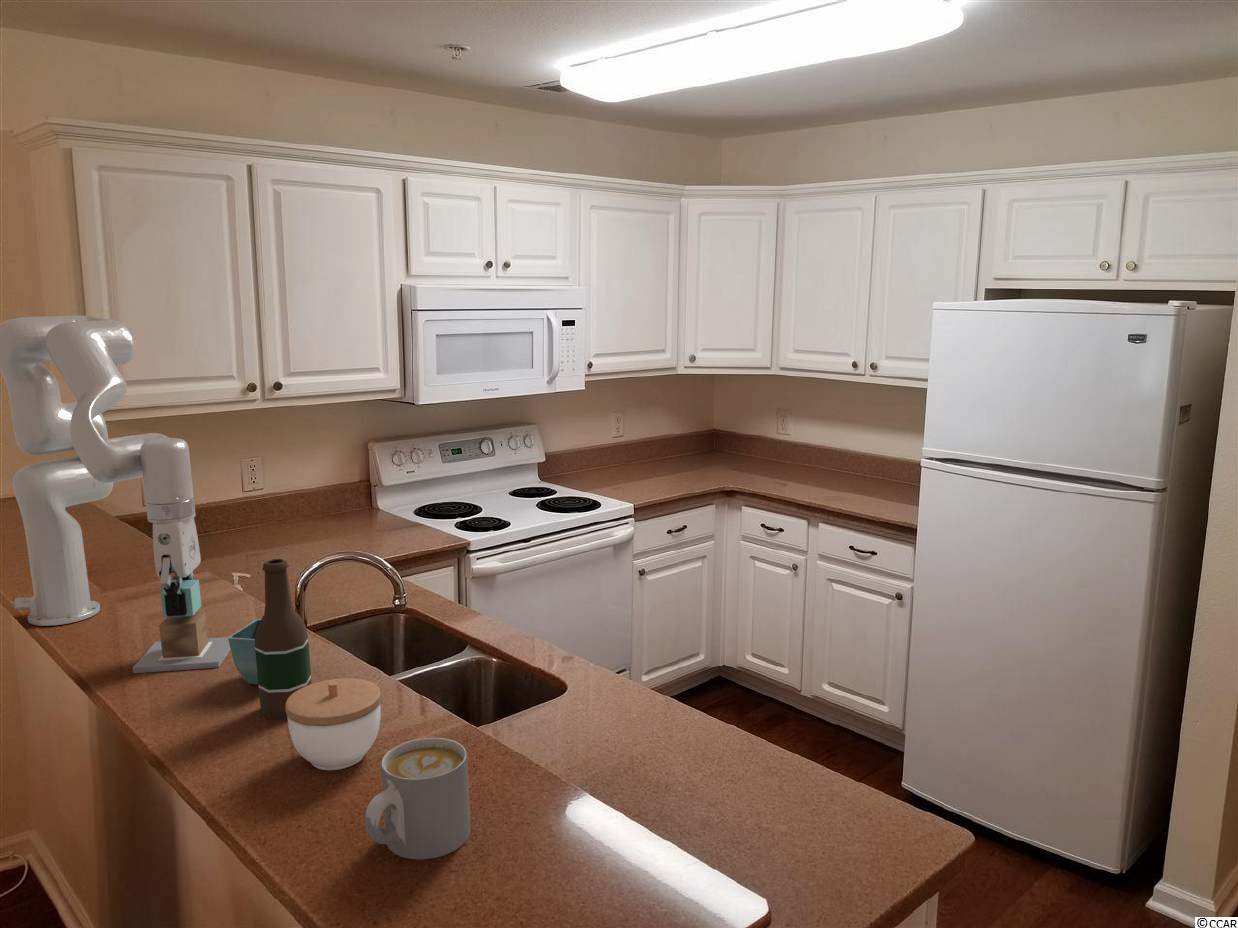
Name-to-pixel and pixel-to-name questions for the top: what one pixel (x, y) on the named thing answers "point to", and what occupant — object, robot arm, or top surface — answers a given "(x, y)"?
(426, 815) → the coffee mug
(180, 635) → the walnut block
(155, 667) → the pad
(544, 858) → the top surface
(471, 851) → the top surface
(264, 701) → the beer bottle
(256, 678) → the flower pot
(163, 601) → the teal block
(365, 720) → the lidded bowl
